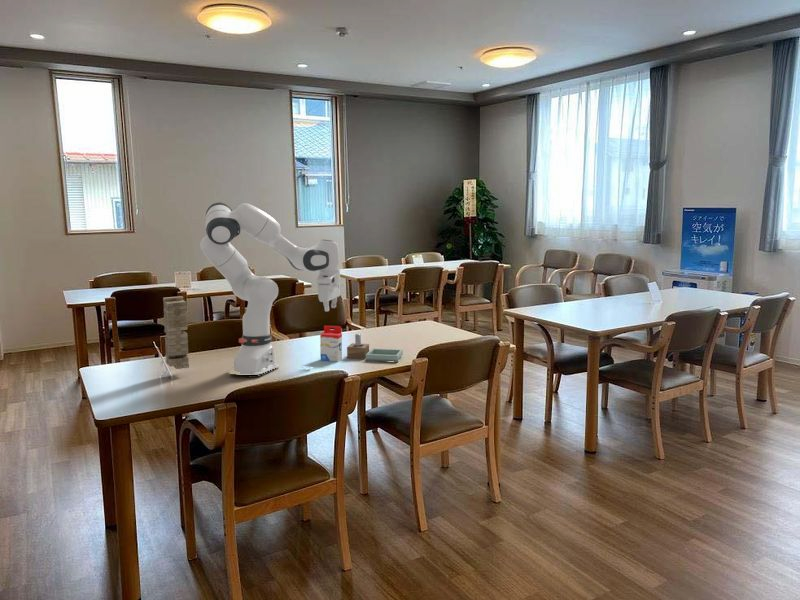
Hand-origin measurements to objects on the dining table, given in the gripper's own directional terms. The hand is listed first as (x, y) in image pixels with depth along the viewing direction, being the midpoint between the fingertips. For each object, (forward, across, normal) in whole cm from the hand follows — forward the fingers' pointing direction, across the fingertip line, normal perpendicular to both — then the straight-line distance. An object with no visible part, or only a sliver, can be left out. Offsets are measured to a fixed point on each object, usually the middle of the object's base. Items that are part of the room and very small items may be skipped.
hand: (330, 309), depth 261 cm
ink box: (+22, 0, 0) cm, 22 cm away
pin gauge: (+22, -8, +10) cm, 26 cm away
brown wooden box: (+22, -8, +10) cm, 26 cm away
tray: (+22, -6, +22) cm, 32 cm away
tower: (+22, +24, -59) cm, 68 cm away
